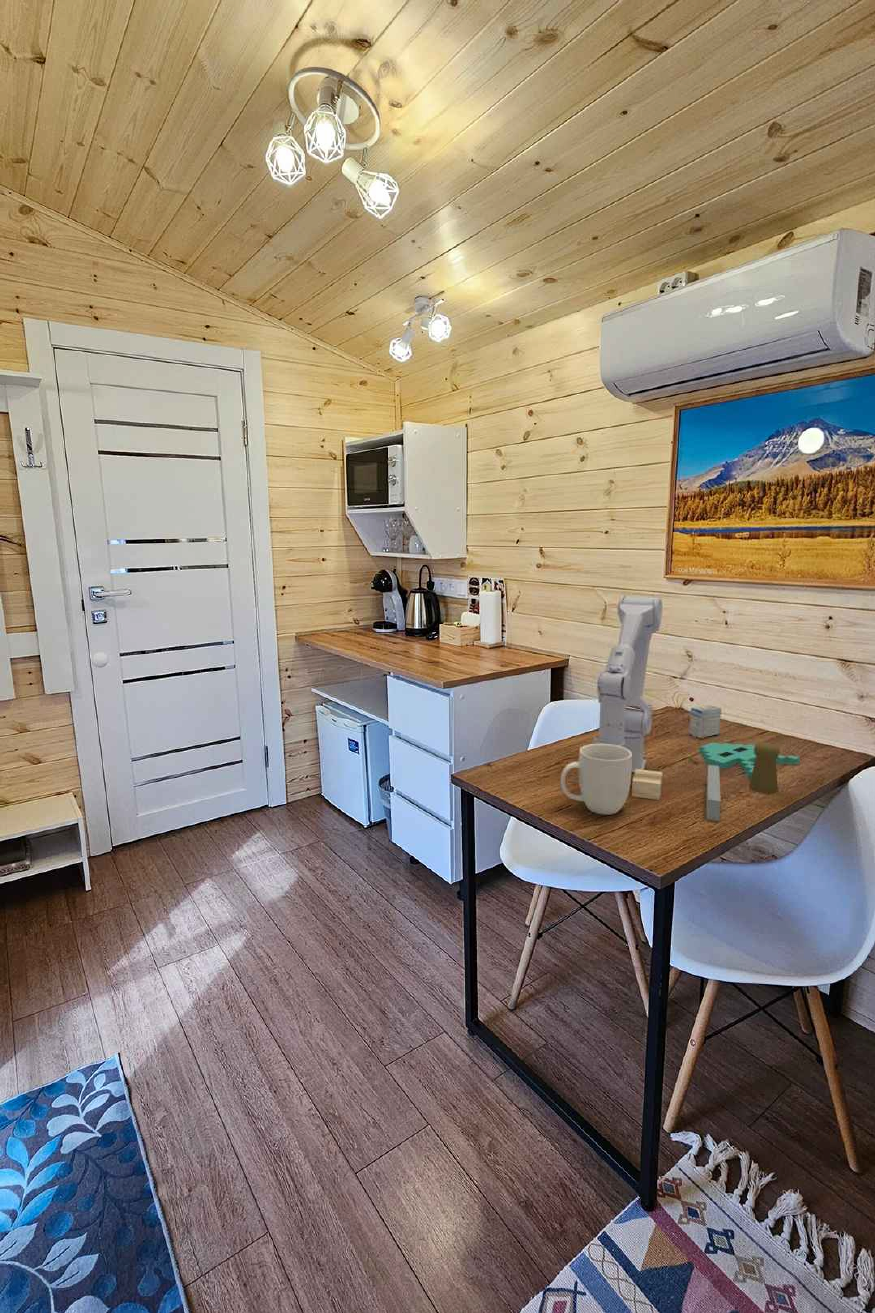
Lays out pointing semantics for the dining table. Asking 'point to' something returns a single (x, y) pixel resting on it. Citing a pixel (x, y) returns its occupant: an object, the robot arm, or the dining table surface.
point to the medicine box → (705, 720)
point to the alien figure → (736, 756)
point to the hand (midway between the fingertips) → (609, 778)
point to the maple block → (647, 784)
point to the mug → (602, 777)
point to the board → (713, 793)
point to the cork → (765, 768)
